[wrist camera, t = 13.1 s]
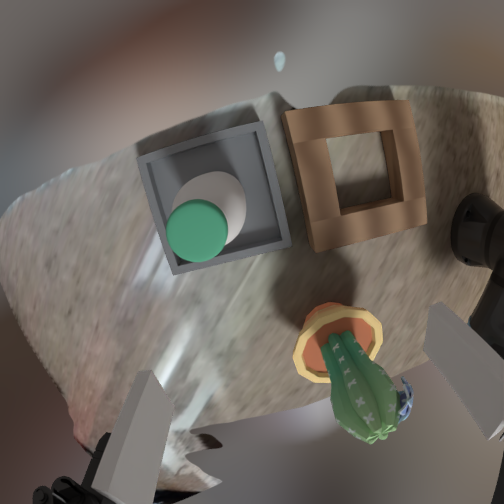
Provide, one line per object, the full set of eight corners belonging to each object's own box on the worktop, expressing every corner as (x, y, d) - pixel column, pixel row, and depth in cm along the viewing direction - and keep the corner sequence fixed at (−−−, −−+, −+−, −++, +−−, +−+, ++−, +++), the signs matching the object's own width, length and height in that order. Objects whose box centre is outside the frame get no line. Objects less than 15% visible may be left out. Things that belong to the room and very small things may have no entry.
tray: (261, 123, 36) (262, 120, 33) (288, 240, 41) (292, 246, 38) (143, 158, 36) (136, 158, 34) (177, 267, 42) (173, 275, 39)
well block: (395, 103, 34) (408, 100, 31) (414, 218, 41) (427, 223, 37) (280, 116, 35) (284, 111, 32) (309, 244, 42) (315, 253, 38)
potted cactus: (336, 363, 50) (377, 463, 26) (270, 342, 47) (288, 463, 24) (380, 302, 46) (455, 393, 22) (313, 271, 43) (378, 380, 20)
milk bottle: (204, 162, 36) (167, 161, 17) (254, 185, 38) (268, 208, 19) (182, 210, 38) (131, 257, 19) (230, 232, 40) (222, 298, 21)
